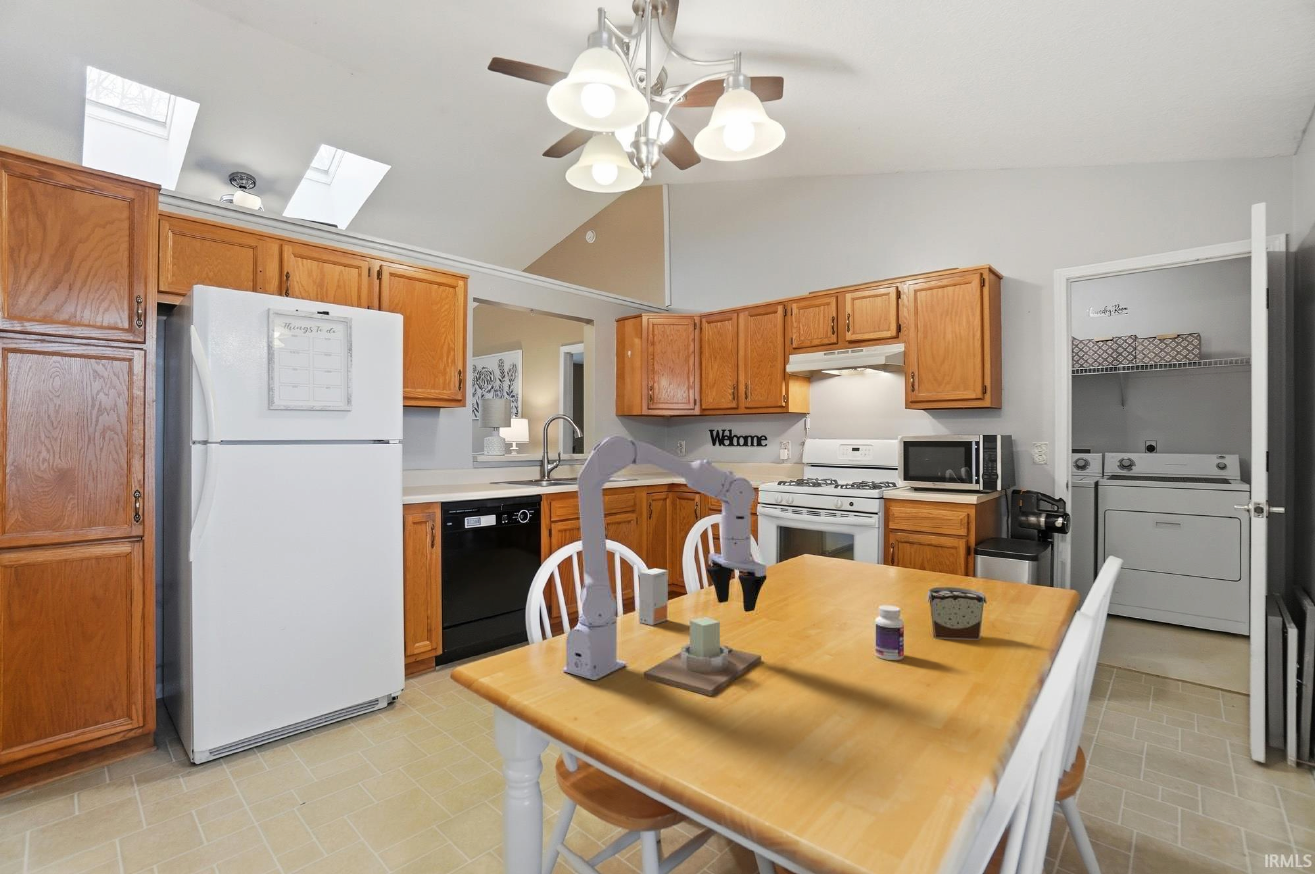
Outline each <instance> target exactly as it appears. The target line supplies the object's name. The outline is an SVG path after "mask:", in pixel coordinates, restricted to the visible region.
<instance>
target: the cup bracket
mask: <svg viewBox="0 0 1315 874" xmlns="http://www.w3.org/2000/svg"><path fill="white" fill-rule="evenodd" d="M761 661H762V655H760V654H756V653H751V652H746V651H742V650H737V649H734V648H732V647H729V646H727V645H725V646H723V645H722V644H720V655H719V656H714V657H697V656H693V655H690V643H688V644H686V645H683V646H682V647H681V648H680V652H678V653H676V654H674V655H672V656H671V657H669V658H667V659H665V660H663V661H661V662H659V663H658V664H656V665H654V666H652V667H649V668H648V669H647V670H644V671H643V676H642V677H643V679H646V680H647V679H648V680H651V681H655V682H658V683H662V684H665V685H668V686H669V685H670V686H672V687H676V688H680V689H682V690H686V691H691V692H693V693H698V694H701V695H705V696H708V697H711V696H713V695H715V694H716V693H717V692H719V691H720V690H721V689H723V688H724V687H726V686H728V685H729V684H730V683H731V682H733V681H734V680H736V679H737V678H739V677H740V676H742V675H743V674H745V673H746V672H747V671H749V670H750V669H752V668H753V667H754V666H756V665H758V663H760V662H761Z"/></svg>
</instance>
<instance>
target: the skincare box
mask: <svg viewBox="0 0 1315 874" xmlns="http://www.w3.org/2000/svg"><path fill="white" fill-rule="evenodd" d="M668 582H669V571H668V570H666V569H661V568H656V567H655V568H651V569H647V570H643V571H640V572H639V595H638V597H639V599H638V601H639V606H638V607H639V608H638V613H639V614H638V618H639V619H638V622H639V623H640V622H641V623H640V624H646V625H650V626H654V625H656V624H659V623H663V622H665V621H667V620H668V597H669V596H668V595H669V593H668V592H669V591H668V590H669V586H668V584H669V583H668Z"/></svg>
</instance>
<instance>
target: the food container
mask: <svg viewBox="0 0 1315 874" xmlns="http://www.w3.org/2000/svg"><path fill="white" fill-rule="evenodd" d="M926 602H928V603H929V606H930V608H929V609H930V617H931V625H932V626H931V627H932V635H933V636H932V637H933V638H934V639H939V640H940V639H941V640H969V641H972V640H973V641H980V639H981V630H982V623H983V622H982V621H983V613H984V604H986V605H987V598H986V596H985V593H983V592H981V591H977V590H974V589H970V588H962V587H955V586H953V587H952V586H939V587H931V588H930V589H929V590H928V592H927V594H926Z"/></svg>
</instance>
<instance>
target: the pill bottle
mask: <svg viewBox="0 0 1315 874" xmlns="http://www.w3.org/2000/svg"><path fill="white" fill-rule="evenodd" d="M878 615H879V616H877V617H875V619H874V654H875V656H876V657H878V658H879V659H882V660H885V661H886V660H887V661H900V660H902V659H904V655H905V654H904V652H905V650H904V649H905V648H904V647H905V646H904V644H905V643H904V641H905V624H904V621H903V620H902V619H901V618H900V616H901V608H900V607H898V606H896V605H889V604H888V605H886V604H885V605H884V604H883V605H879V606H878Z"/></svg>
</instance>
